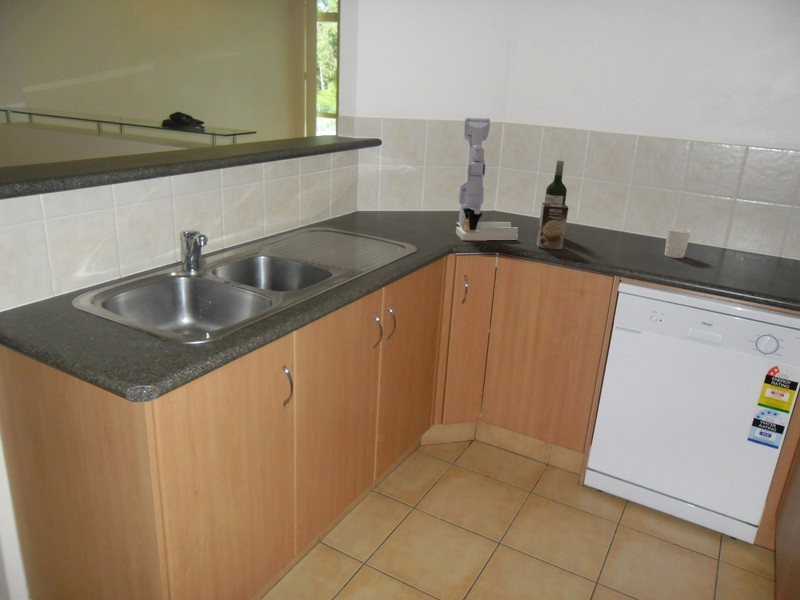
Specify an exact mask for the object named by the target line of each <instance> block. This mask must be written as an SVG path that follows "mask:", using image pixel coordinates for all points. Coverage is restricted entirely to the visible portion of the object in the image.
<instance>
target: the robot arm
mask: <svg viewBox="0 0 800 600" xmlns="http://www.w3.org/2000/svg"><path fill="white" fill-rule="evenodd" d="M490 127H491V119H490V118H489V117H473V116H466V117H465V119H464V129H463V130H464V132H463V133H464V134H463V135H464V139H465V140H466V141H468V146H469V151H468V152H469V153H468V163H467V171H466V175H467V176H466V177H467V178H466V179H467V180H466V181H465V182H463V183H462V184H460V187H459V194H458V204H459V205H461V206H460V208H459V216H458V221H456V225H457V226H458V227H462V225H463V218H469V227H470V230H476V227H477V224H478V222H480V219H481V217H482V216H483V213H482V212H481V208H482V206H483V205H484V204H483V203H484V196H485V195H484V193H485V192H484V186H483V182H484V178H485V176H486V175H485V174H486V160H485V149H484V148H483V147H482V145H483V142H485V141H486V140H487V138H488V137H489V132H490Z"/></svg>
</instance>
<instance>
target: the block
mask: <svg viewBox="0 0 800 600" xmlns="http://www.w3.org/2000/svg"><path fill="white" fill-rule="evenodd" d="M476 228H477V227H476ZM462 229H463V230H464V231H465V232H476V230H470V227H469V218H463V225H462Z"/></svg>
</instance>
